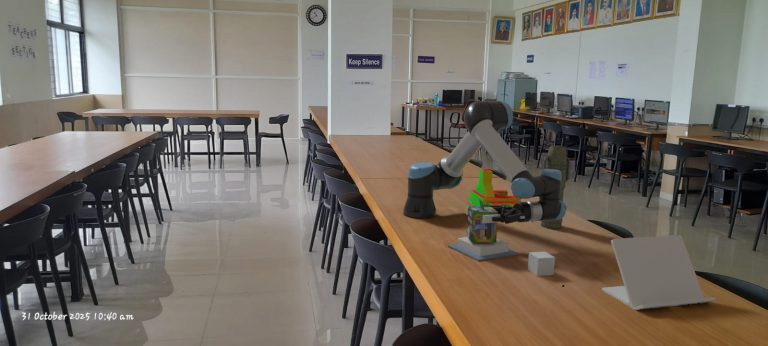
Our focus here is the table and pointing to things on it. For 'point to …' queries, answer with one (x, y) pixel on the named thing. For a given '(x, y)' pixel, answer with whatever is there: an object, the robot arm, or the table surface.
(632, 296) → the tablet stand
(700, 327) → the table surface
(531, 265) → the white cube
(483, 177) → the building blocks toy
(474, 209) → the chalk box
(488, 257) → the board
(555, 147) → the dark piece
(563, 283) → the table surface
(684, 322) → the table surface
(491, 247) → the base block
